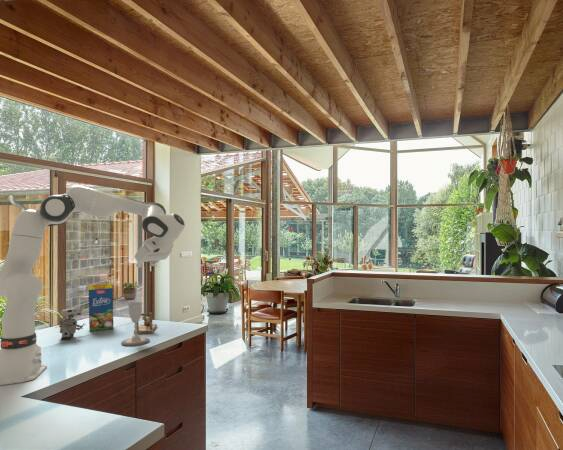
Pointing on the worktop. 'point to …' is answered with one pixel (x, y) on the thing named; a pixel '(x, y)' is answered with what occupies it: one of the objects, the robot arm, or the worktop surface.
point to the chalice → (135, 317)
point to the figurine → (69, 322)
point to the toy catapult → (146, 325)
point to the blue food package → (100, 307)
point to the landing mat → (129, 343)
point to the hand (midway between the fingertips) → (145, 265)
